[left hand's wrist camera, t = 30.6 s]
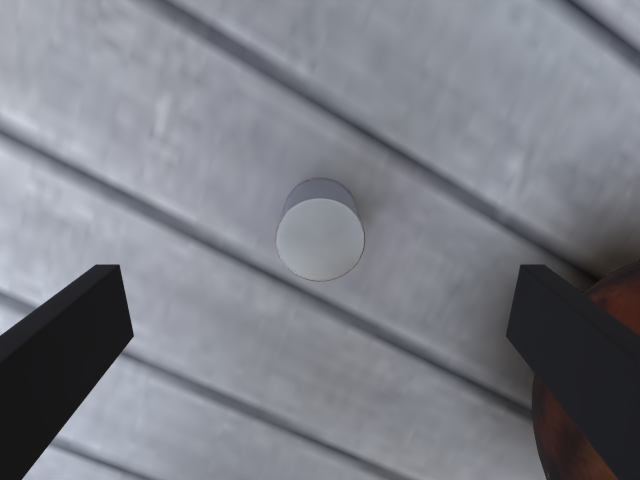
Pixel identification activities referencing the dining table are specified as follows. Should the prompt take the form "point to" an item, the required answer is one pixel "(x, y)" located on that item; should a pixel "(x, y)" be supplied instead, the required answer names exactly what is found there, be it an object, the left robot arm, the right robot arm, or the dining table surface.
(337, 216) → the can
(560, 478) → the plush toy
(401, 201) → the dining table surface
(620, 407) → the left robot arm
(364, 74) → the dining table surface
